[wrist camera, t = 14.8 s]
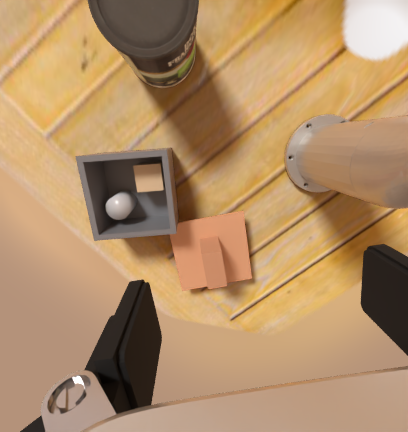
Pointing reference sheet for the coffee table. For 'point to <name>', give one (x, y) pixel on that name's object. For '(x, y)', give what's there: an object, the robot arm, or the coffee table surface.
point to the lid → (211, 251)
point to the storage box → (130, 193)
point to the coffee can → (151, 36)
